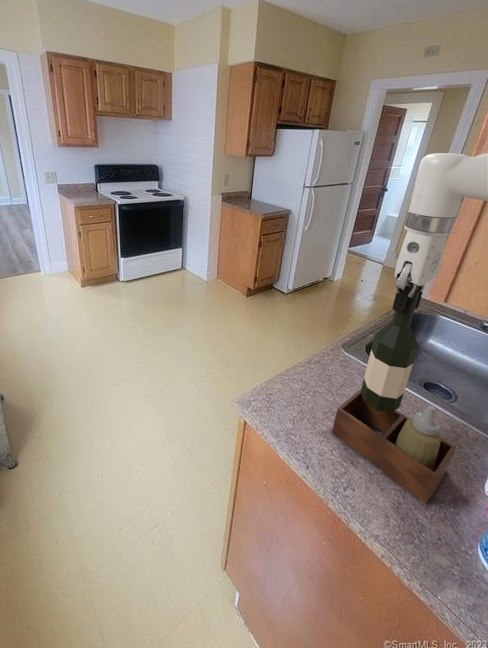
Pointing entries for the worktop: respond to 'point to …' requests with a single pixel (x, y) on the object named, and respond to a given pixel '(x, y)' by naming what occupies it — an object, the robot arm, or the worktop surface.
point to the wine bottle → (390, 362)
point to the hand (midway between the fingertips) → (405, 308)
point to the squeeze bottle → (421, 437)
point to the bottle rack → (389, 446)
